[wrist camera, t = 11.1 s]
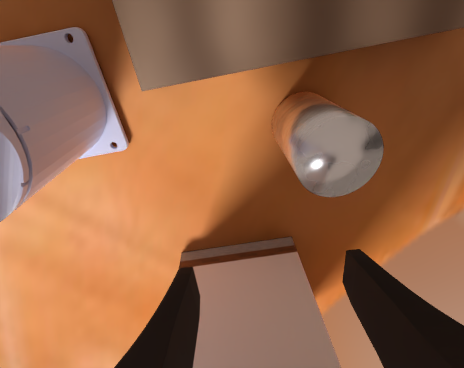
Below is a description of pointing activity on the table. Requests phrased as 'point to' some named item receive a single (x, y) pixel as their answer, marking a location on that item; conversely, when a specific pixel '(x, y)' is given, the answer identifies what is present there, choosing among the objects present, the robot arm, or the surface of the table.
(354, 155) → the shiny metal cylinder
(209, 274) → the tall white column
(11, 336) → the table surface
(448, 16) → the housing block
